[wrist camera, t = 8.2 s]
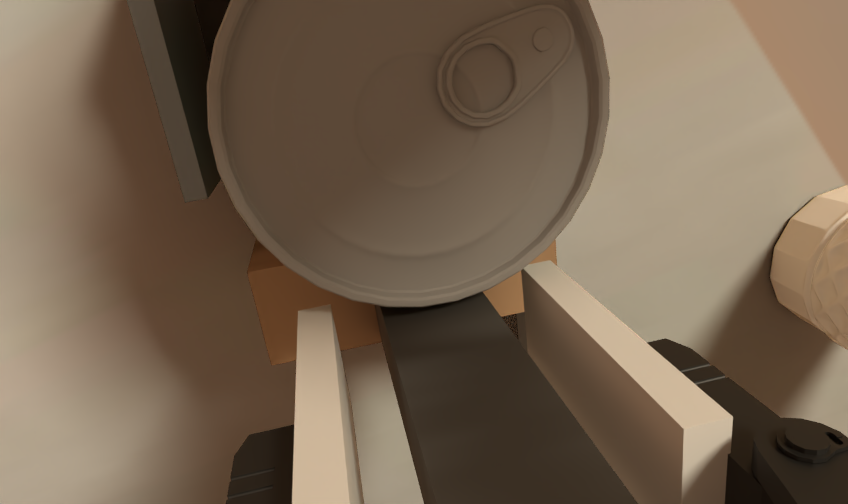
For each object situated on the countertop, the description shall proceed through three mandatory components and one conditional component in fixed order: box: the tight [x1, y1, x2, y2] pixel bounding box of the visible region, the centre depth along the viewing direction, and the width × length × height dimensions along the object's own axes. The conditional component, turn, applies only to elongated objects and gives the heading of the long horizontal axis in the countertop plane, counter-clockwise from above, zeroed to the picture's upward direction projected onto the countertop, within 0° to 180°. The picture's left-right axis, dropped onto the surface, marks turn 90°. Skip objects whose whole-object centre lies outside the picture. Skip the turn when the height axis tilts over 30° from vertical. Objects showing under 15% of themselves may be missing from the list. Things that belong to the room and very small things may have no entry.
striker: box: [247, 238, 638, 504], centre depth 14 cm, size 9×3×18 cm, turn 98°
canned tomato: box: [207, 0, 610, 307], centre depth 16 cm, size 8×8×11 cm
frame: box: [127, 0, 528, 353], centre depth 21 cm, size 12×26×6 cm, turn 8°
